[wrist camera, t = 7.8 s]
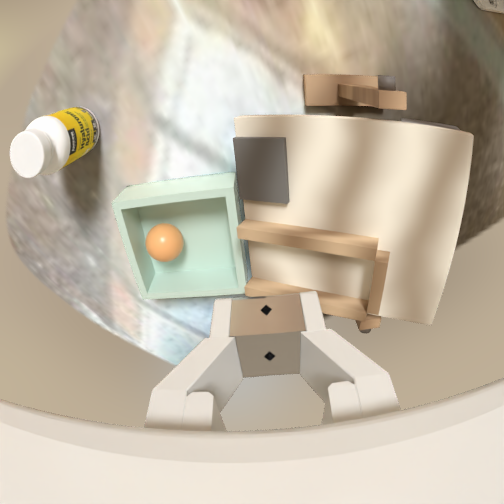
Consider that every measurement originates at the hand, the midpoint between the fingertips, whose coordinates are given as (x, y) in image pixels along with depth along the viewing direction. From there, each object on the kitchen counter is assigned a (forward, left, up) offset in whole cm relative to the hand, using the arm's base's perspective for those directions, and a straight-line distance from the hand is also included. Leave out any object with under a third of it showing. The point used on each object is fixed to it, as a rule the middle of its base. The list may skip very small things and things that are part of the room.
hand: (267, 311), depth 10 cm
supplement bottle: (+18, -4, -23) cm, 30 cm away
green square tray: (+8, +9, -23) cm, 26 cm away
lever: (-9, +5, -20) cm, 22 cm away
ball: (+10, +9, -21) cm, 24 cm away
